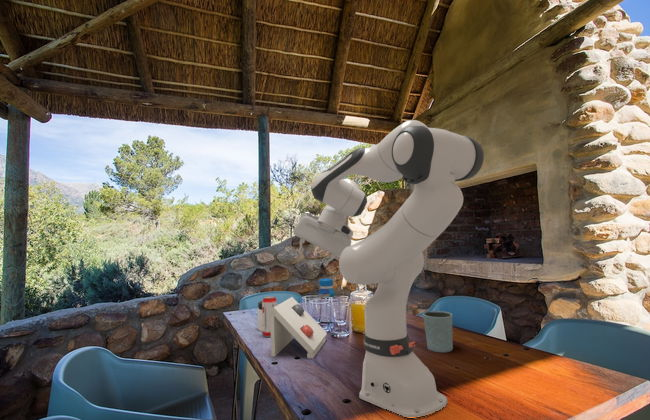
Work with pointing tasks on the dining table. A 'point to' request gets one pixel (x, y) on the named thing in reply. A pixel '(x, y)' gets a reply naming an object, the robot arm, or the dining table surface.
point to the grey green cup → (438, 330)
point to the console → (294, 329)
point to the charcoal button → (298, 309)
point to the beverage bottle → (326, 288)
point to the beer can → (267, 313)
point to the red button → (307, 331)
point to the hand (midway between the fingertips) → (312, 258)
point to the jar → (260, 316)
